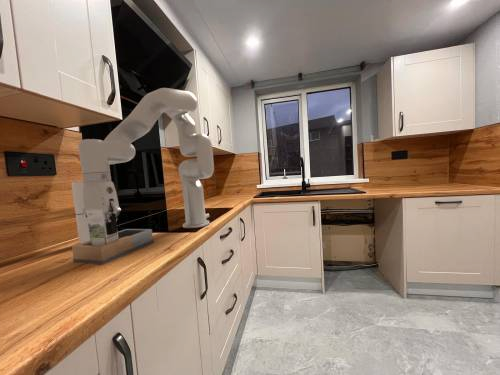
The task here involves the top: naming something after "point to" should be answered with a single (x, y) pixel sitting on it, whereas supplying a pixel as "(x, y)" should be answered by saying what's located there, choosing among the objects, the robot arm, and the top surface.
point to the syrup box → (98, 227)
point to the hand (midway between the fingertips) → (104, 233)
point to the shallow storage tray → (112, 247)
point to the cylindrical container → (80, 212)
